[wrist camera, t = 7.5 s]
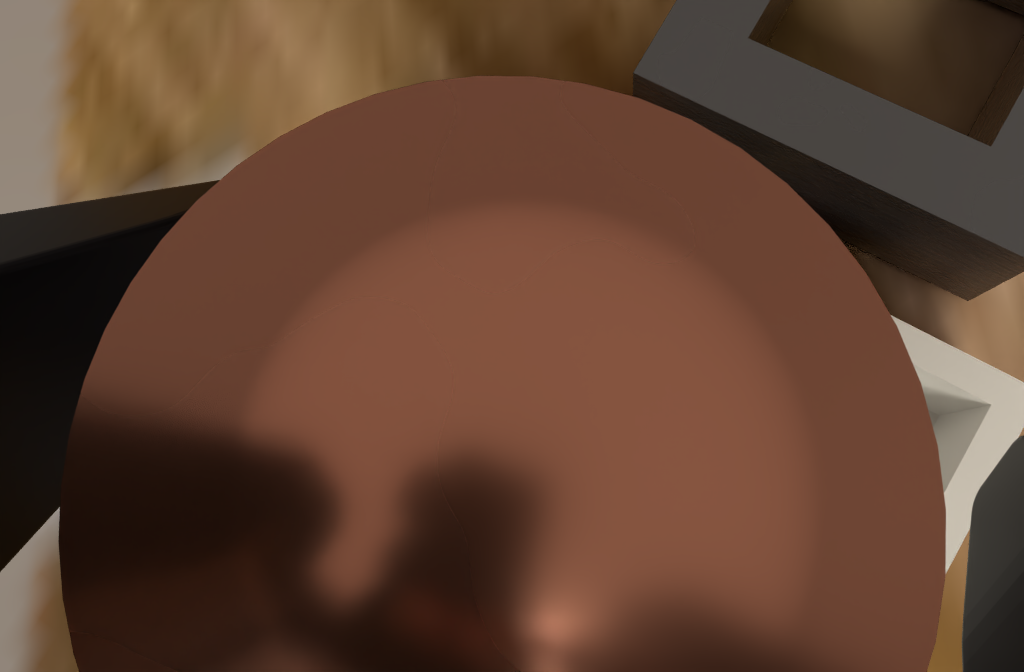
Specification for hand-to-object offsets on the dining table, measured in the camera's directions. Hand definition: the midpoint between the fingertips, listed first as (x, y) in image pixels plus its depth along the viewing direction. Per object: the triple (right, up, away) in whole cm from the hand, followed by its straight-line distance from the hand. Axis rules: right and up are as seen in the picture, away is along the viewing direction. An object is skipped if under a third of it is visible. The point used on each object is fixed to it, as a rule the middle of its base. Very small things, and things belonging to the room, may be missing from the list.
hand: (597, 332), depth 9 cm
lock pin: (+1, -3, +8) cm, 9 cm away
